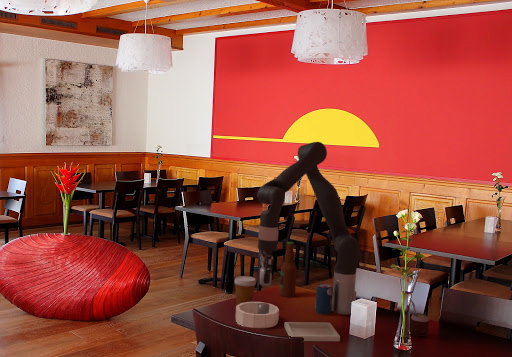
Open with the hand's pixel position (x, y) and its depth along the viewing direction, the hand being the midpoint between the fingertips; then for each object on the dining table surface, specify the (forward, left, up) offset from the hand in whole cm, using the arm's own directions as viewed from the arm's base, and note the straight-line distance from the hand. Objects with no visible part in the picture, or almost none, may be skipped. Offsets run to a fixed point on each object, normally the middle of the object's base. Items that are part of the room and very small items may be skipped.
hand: (265, 281), depth 222 cm
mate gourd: (-59, +10, -18) cm, 63 cm away
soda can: (-28, -16, -18) cm, 37 cm away
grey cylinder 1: (0, 0, -1) cm, 1 cm away
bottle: (-17, -41, -18) cm, 48 cm away
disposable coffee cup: (+5, -24, -18) cm, 31 cm away
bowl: (+2, -4, -18) cm, 18 cm away
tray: (-17, +10, -18) cm, 26 cm away
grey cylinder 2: (0, -4, -17) cm, 17 cm away
